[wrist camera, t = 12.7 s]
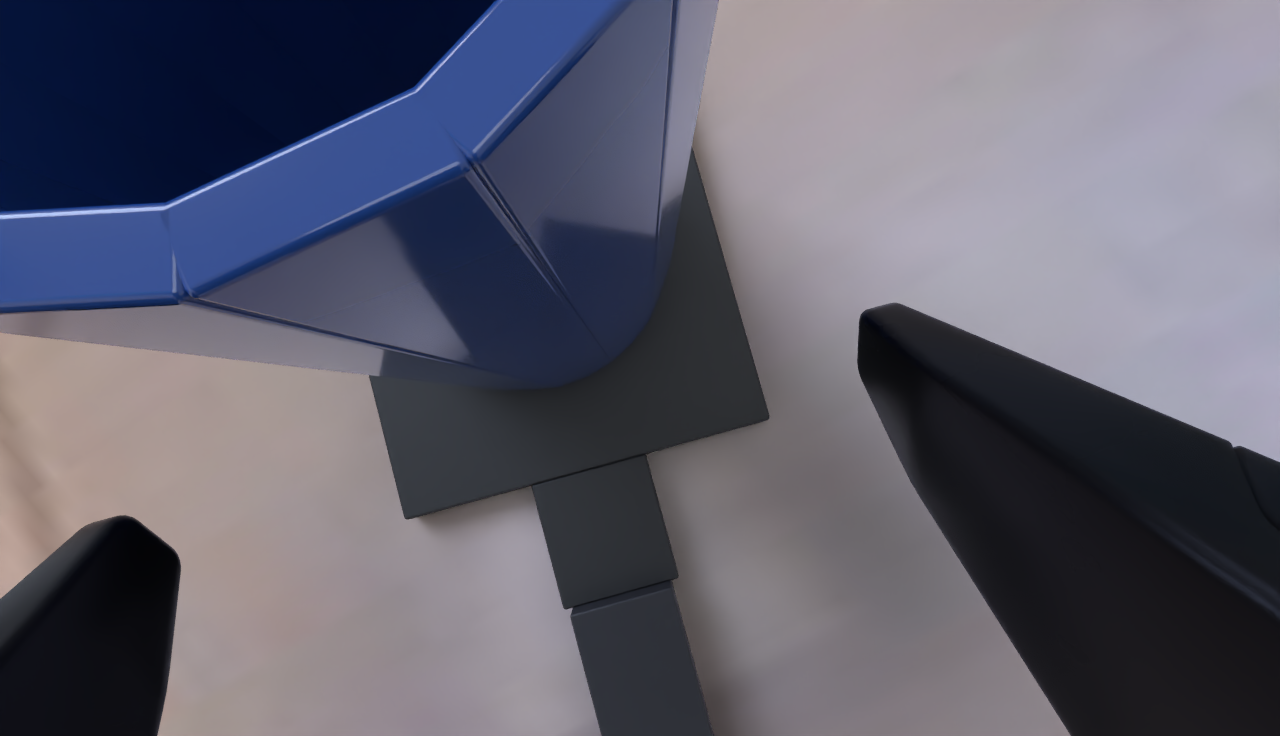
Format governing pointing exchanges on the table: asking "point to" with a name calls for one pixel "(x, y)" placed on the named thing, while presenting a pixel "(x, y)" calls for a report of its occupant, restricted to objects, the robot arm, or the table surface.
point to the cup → (348, 179)
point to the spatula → (601, 473)
